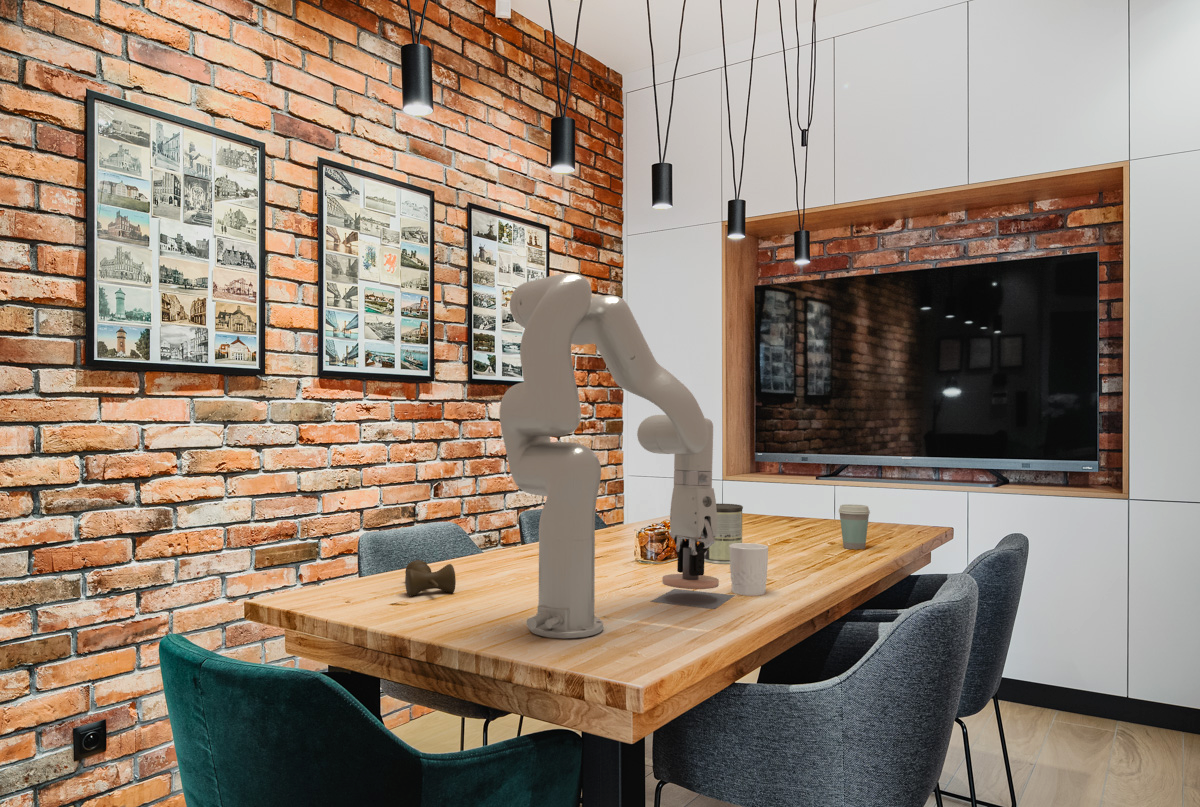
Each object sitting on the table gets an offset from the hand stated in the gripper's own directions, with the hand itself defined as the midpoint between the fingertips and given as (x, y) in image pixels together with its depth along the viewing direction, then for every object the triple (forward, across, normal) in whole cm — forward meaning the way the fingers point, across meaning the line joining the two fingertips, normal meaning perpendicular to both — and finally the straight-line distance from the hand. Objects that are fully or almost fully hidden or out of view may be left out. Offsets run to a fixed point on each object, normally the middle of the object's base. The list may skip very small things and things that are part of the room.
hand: (690, 572), depth 153 cm
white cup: (+5, 0, -15) cm, 16 cm away
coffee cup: (+3, +32, -81) cm, 87 cm away
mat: (+6, 0, -1) cm, 6 cm away
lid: (+2, 0, 0) cm, 2 cm away
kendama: (+7, +35, +42) cm, 55 cm away
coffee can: (+5, +34, -35) cm, 49 cm away
